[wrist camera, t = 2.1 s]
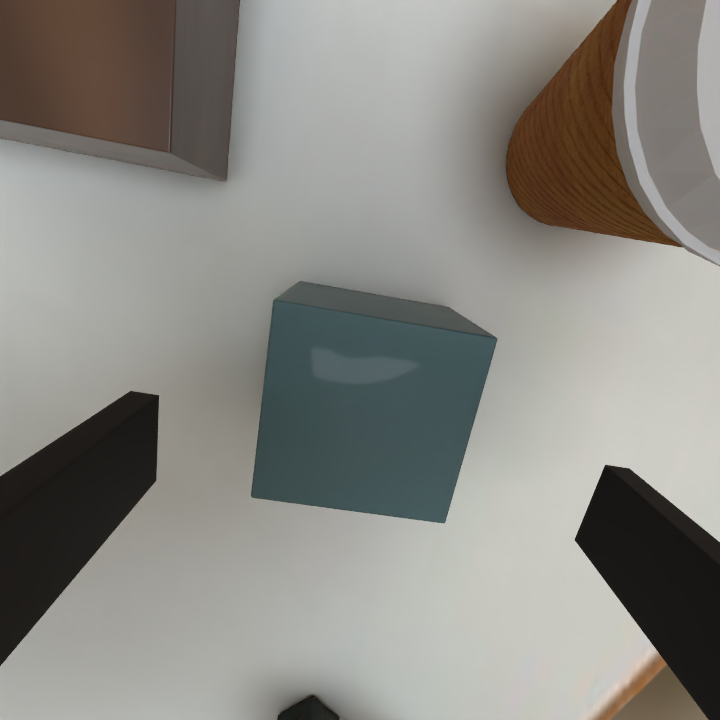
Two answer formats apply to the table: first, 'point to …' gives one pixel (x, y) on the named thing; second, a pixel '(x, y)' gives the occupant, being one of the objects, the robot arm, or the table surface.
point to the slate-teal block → (367, 402)
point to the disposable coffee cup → (630, 130)
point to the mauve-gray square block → (121, 79)
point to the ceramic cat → (308, 711)
